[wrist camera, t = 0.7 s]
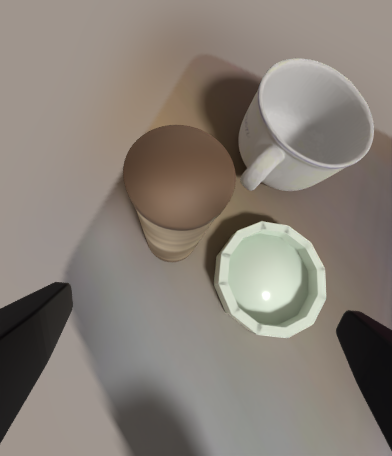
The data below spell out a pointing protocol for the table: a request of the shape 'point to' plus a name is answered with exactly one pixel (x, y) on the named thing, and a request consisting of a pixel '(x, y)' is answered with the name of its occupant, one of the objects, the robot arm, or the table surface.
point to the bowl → (270, 280)
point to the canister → (177, 187)
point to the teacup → (303, 126)
